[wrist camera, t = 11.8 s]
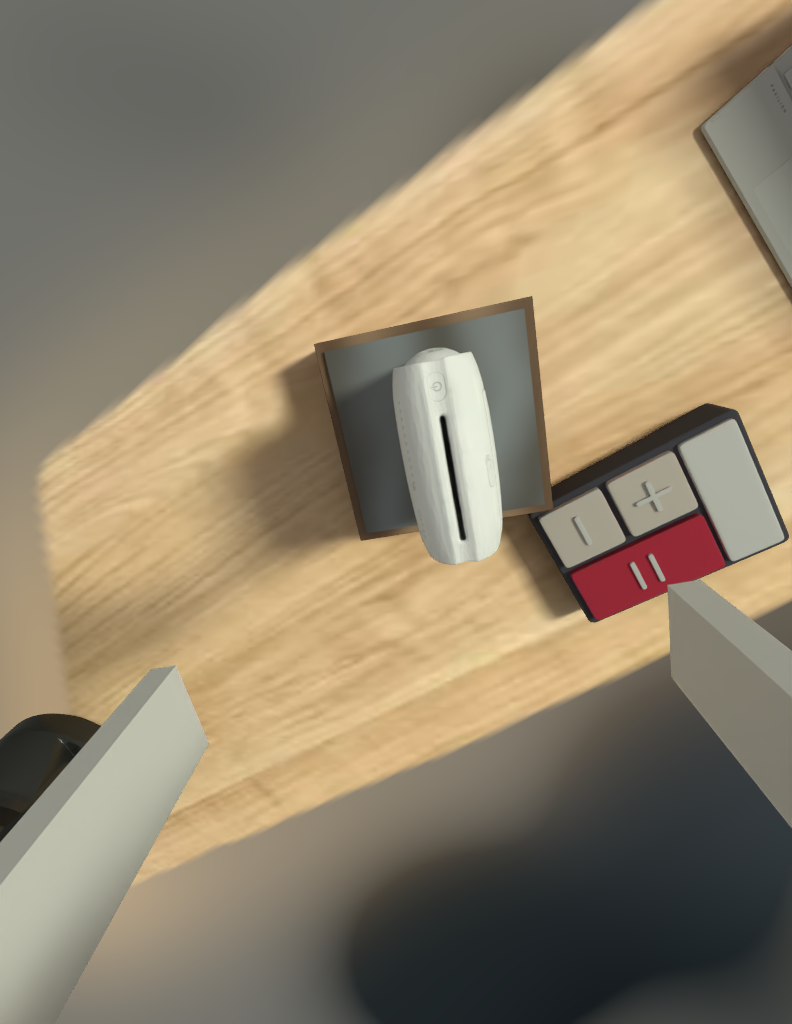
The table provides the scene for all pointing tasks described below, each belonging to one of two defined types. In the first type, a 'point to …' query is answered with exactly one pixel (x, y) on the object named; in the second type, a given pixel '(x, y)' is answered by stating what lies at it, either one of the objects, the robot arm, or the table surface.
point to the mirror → (372, 422)
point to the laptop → (761, 153)
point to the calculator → (661, 513)
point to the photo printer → (449, 454)
